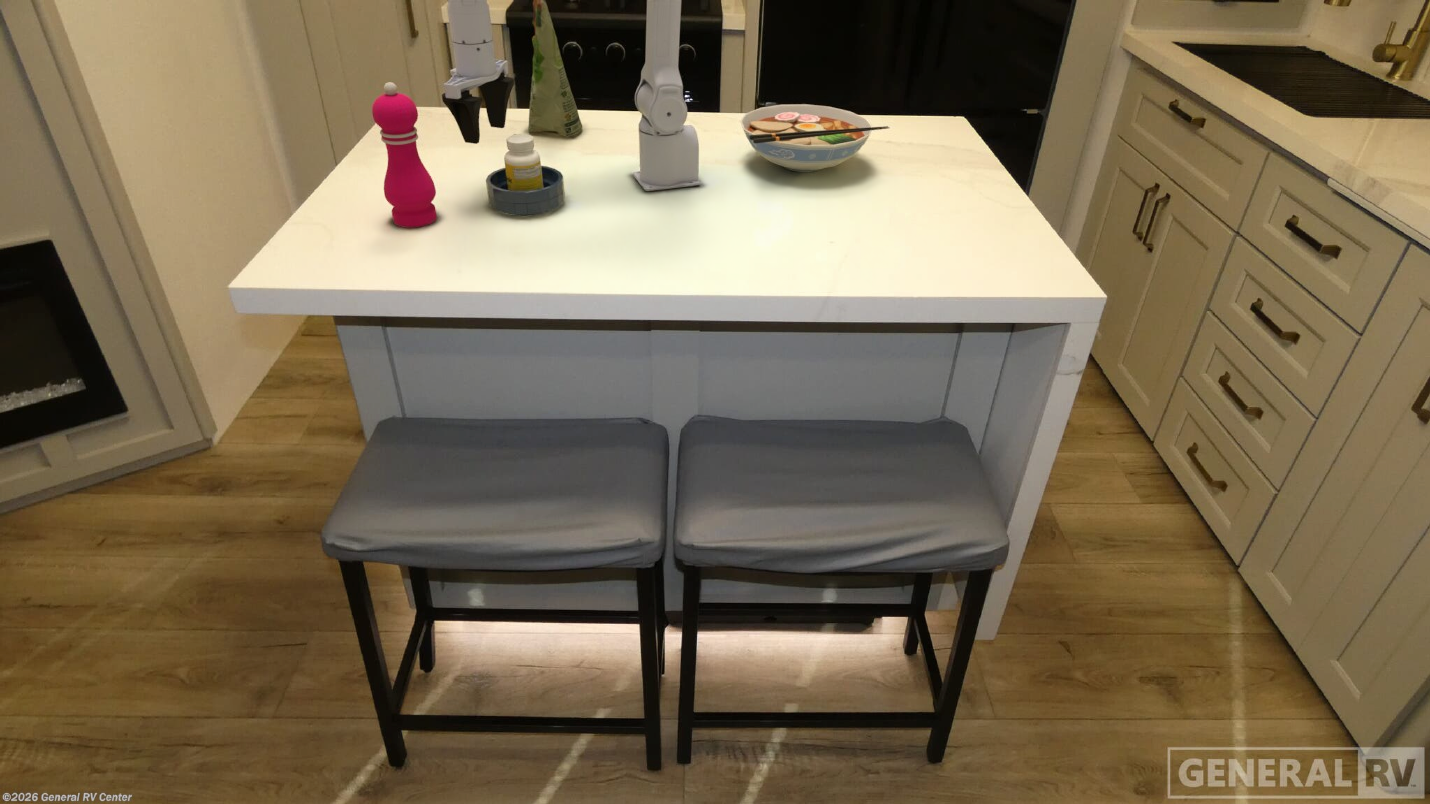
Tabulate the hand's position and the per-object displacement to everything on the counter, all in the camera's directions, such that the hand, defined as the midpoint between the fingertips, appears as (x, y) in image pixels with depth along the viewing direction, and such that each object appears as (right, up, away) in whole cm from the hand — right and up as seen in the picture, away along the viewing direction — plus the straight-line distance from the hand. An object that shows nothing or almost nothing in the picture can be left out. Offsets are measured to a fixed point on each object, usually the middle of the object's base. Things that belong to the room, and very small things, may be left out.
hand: (485, 134), depth 131 cm
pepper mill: (-10, -13, -1) cm, 17 cm away
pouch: (+4, +11, +34) cm, 36 cm away
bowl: (+5, -9, +4) cm, 12 cm away
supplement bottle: (+5, -9, +4) cm, 11 cm away
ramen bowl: (+50, +1, +21) cm, 55 cm away
